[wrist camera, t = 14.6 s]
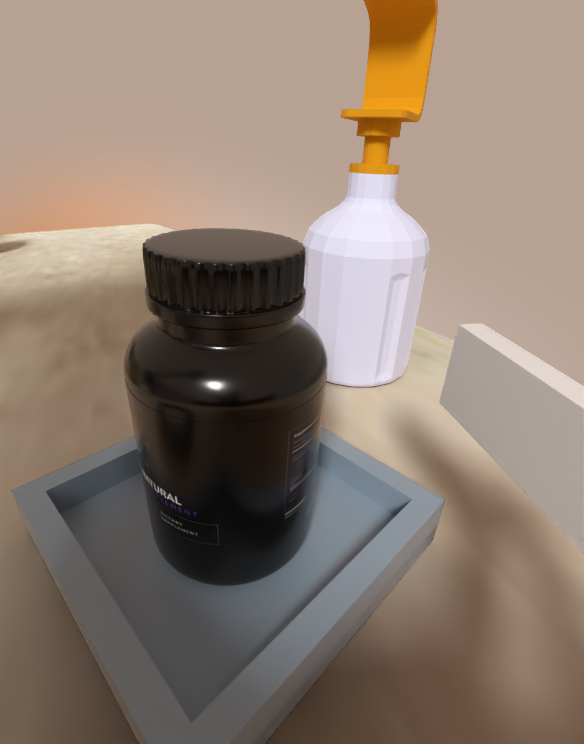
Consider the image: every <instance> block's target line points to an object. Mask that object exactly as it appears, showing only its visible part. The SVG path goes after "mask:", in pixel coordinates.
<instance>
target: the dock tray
mask: <svg viewBox="0 0 584 744" xmlns="http://www.w3.org/2000/svg"><path fill="white" fill-rule="evenodd" d="M12 493H13V495H14V498H15V500H16V503H17V505H18V508H19V510H20V512H21V515H22V517H23V520H24V522H25V525H26V527H27V530H28V532H29V534H30V536H31V538H32V540H33V541H34V543H35V545H36V547H37V549H38V551H39V553H40V555H41V557H42V559H43V561H44V563H45V564H46V566H47V568H48V570H49V572H50V574H51V576H52V578H53V580H54V582H55V584H56V585H57V587H58V589H59V591H60V593H61V595H62V597H63V599H64V601H65V603H66V605H67V607H68V608H69V610H70V612H71V614H72V616H73V618H74V620H75V622H76V624H77V626H78V628H79V629H80V631H81V633H82V635H83V637H84V639H85V641H86V643H87V645H88V647H89V649H90V651H91V652H92V654H93V656H94V658H95V660H96V662H97V664H98V666H99V668H100V670H101V672H102V673H103V675H104V677H105V679H106V681H107V683H108V685H109V687H110V689H111V691H112V693H113V695H114V696H115V698H116V700H117V702H118V704H119V706H120V708H121V710H122V712H123V714H124V716H125V718H126V719H127V721H128V723H129V725H130V727H131V729H132V731H133V733H134V735H135V737H136V739H137V740H138V742H139V744H265V743H266V741H267V740H268V739H269V738H270V737H271V735H272V734H273V733H274V732H275V731H276V729H277V728H278V727H279V726H280V724H281V723H282V722H283V721H284V720H285V718H286V717H287V716H288V715H289V714H290V712H291V711H292V710H293V709H294V707H295V706H296V705H297V704H298V703H299V701H300V700H301V699H302V698H303V697H304V695H305V694H306V693H307V692H308V691H309V689H310V688H311V687H312V686H313V684H314V683H315V682H316V681H317V680H318V678H319V677H320V676H321V675H322V674H323V672H324V671H325V670H326V669H327V667H328V666H329V665H330V664H331V663H332V661H333V660H334V659H335V658H336V657H337V655H338V654H339V653H340V652H341V650H342V649H343V648H344V647H345V646H346V644H347V643H348V642H349V641H350V640H351V638H352V637H353V636H354V635H355V634H356V632H357V631H358V630H359V629H360V627H361V626H362V625H363V624H364V623H365V621H366V620H367V619H368V618H369V617H370V615H371V614H372V613H373V612H374V610H375V609H376V608H377V607H378V606H379V604H380V603H381V602H382V601H383V600H384V598H385V597H386V596H387V595H388V593H389V592H390V591H391V590H392V589H393V587H394V586H395V585H396V584H397V583H398V581H399V580H400V579H401V578H402V577H403V575H404V574H405V573H406V572H407V570H408V569H409V568H410V567H411V566H412V564H413V563H414V562H415V561H416V560H417V558H418V557H419V556H420V555H421V553H422V552H423V551H424V550H425V549H426V547H427V546H428V545H429V544H430V543H431V541H432V540H433V538H434V535H435V531H436V528H437V525H438V522H439V518H440V515H441V512H442V508H443V505H444V502H445V500H444V499H442V498H441V497H439V496H437V495H436V494H434V493H432V492H431V491H429V490H427V489H425V488H424V487H422V486H420V485H419V484H417V483H415V482H414V481H412V480H410V479H408V478H407V477H405V476H403V475H402V474H400V473H398V472H396V471H395V470H393V469H391V468H390V467H388V466H386V465H385V464H383V463H381V462H379V461H378V460H376V459H374V458H373V457H371V456H369V455H368V454H366V453H364V452H362V451H361V450H359V449H357V448H356V447H354V446H352V445H351V444H349V443H347V442H345V441H344V440H342V439H340V438H339V437H337V436H335V435H334V434H332V433H330V432H328V431H327V430H325V429H323V428H322V427H321V436H320V445H319V454H318V464H317V473H316V482H315V491H314V500H313V508H312V516H311V522H310V527H309V531H308V534H307V536H306V539H305V541H304V543H303V545H302V546H301V548H300V549H299V551H298V552H297V553H296V555H295V556H294V557H293V558H292V559H291V560H290V561H289V562H288V563H287V564H286V565H285V566H283V567H282V568H281V569H279V570H278V571H276V572H275V573H273V574H271V575H269V576H267V577H265V578H263V579H260V580H258V581H255V582H252V583H247V584H243V585H236V586H216V585H209V584H205V583H201V582H198V581H195V580H192V579H190V578H188V577H186V576H184V575H182V574H181V573H179V572H178V571H176V570H175V569H174V568H173V567H172V566H171V565H170V564H169V563H168V562H167V561H166V560H165V559H164V557H163V556H162V555H161V553H160V551H159V549H158V547H157V545H156V542H155V539H154V536H153V531H152V527H151V521H150V517H149V512H148V506H147V500H146V495H145V489H144V484H143V478H142V472H141V467H140V461H139V455H138V450H137V444H136V438H135V436H133V437H131V438H129V439H127V440H124V441H122V442H120V443H118V444H115V445H113V446H111V447H108V448H106V449H104V450H102V451H99V452H97V453H95V454H93V455H90V456H88V457H86V458H84V459H81V460H79V461H77V462H74V463H72V464H70V465H68V466H65V467H63V468H61V469H59V470H56V471H54V472H52V473H50V474H47V475H45V476H43V477H41V478H38V479H36V480H34V481H31V482H29V483H27V484H25V485H22V486H20V487H18V488H16V489H13V490H12Z"/></svg>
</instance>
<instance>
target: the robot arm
mask: <svg viewBox="0 0 584 744" xmlns="http://www.w3.org/2000/svg"><path fill="white" fill-rule="evenodd" d="M439 403H440V404H441V405H442V406H443V407H444V408H445V409H446V410H447V411H448V412H449V413H450V414H451V415H452V416H453V417H454V418H455V419H456V420H457V421H458V422H459V424H460V425H461V426H462V427H463V428H464V429H465V430H466V431H467V432H468V433H469V434H470V435H471V436H472V437H473V438H474V439H475V440H476V441H477V442H478V443H479V445H480V446H481V447H482V448H483V449H484V450H485V451H486V452H487V453H488V454H489V455H490V456H491V457H492V458H493V459H494V460H495V461H496V462H497V463H498V464H499V466H500V467H501V468H502V469H503V470H504V471H505V472H506V473H507V474H508V475H509V476H510V477H511V478H512V479H513V480H514V481H515V482H516V483H517V484H518V485H519V487H520V488H521V489H522V490H523V491H524V492H525V493H526V494H527V495H528V496H529V497H530V498H531V499H532V500H533V501H534V502H535V503H536V504H537V505H538V506H539V508H540V509H541V510H542V511H543V512H544V513H545V514H546V515H547V516H548V517H549V518H550V519H551V520H552V521H553V522H554V523H555V524H556V525H557V526H558V527H559V529H560V530H561V531H562V532H563V533H564V534H565V535H566V536H567V537H568V538H569V539H570V540H571V541H572V542H573V543H574V544H575V545H576V546H577V547H578V548H579V550H580V551H581V552H582V553H583V554H584V386H582V385H581V384H579V383H578V382H576V381H574V380H573V379H571V378H569V377H568V376H566V375H565V374H563V373H561V372H560V371H558V370H556V369H555V368H553V367H552V366H550V365H548V364H547V363H545V362H543V361H542V360H540V359H539V358H537V357H535V356H534V355H532V354H530V353H529V352H527V351H525V350H524V349H522V348H521V347H519V346H517V345H516V344H514V343H513V342H511V341H509V340H508V339H506V338H504V337H502V336H501V335H500V334H498V333H496V332H495V331H493V330H492V329H490V328H488V327H487V326H485V325H483V324H482V323H480V324H459V326H458V330H457V334H456V338H455V342H454V346H453V350H452V354H451V358H450V362H449V366H448V370H447V374H446V378H445V382H444V386H443V390H442V394H441V398H440V402H439Z"/></svg>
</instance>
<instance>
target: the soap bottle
mask: <svg viewBox="0 0 584 744" xmlns="http://www.w3.org/2000/svg"><path fill="white" fill-rule="evenodd" d="M364 2H365V4H366V7H367V10H368V14H369V19H370V41H369V42H370V43H369V52H368V62H367V72H366V82H365V92H364V101H363V106H362V109H344V110H342V112H341V113H342V114H341V117H342V118H346V119H350V120H354V121H358V129H357V136H365V143H364V153H363V161H362V163H350V169H349V180H348V192H347V197H346V198H345V200H344V201H343V202H342V203H341V204H339V205H338V206H337V207H335V208H334V209H332V210H330V211H328V212H326V213H324V214H323V215H322V216H321V217H320V218H318V219H317V220H316V221H315V222H314V223H313V224H312V225H311V226H310V227H309V230H308V232H307V235H306V237H305V240H304V242H303V246H304V247H305V249H306V262H305V277H304V287H305V289H306V297H305V306H304V308H303V310H302V311H301V312H300V317H301V318H303V319H304V320H305V321H307V322H308V323H309V324H310V325H311V326H312V327H313V328H314V329H315V330H316V332H317V333H318V335H319V336H320V338H321V340H322V342H323V344H324V346H325V349H326V352H327V358H328V368H327V381H328V382H331V383H335V384H341V385H346V386H352V387H373V386H378V385H382V384H387V383H391V382H392V381H394V380H396V379H398V378H399V377H401V376H402V375H403V373H404V371H405V369H406V368H407V366H408V361H409V355H410V350H411V345H412V340H413V335H414V330H415V325H416V320H417V314H418V309H419V304H420V299H421V294H422V289H423V284H424V279H425V274H426V268H427V263H428V258H429V253H430V248H429V243H428V236H427V234H426V233H425V232H424V231H423V229H422V228H421V227H420V226H419V225H418V223H417V222H416V221H415V220H414V219H413V218H412V217H410V216H409V215H408V214H407V213H405V212H404V211H403V210H402V209H401V208H400V207H399V206H398V205H397V202H396V199H395V197H396V190H397V184H398V176H399V174H398V172H399V165H387V163H388V155H389V148H390V140H391V137H399V136H400V129H401V122H418V121H419V120H420V117H421V114H422V110H423V105H424V99H425V94H426V87H427V81H428V75H429V68H430V63H431V56H432V50H433V44H434V38H435V31H436V24H437V11H438V5H437V0H364Z"/></svg>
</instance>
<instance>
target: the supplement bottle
mask: <svg viewBox="0 0 584 744" xmlns="http://www.w3.org/2000/svg"><path fill="white" fill-rule="evenodd" d="M143 260H144V268H145V276H146V283H147V286H146V288H145V295H146V302H147V307H148V309H149V310H150V312H151V313H152V314H154V315H155V316H154V317H153V318H151V319H150V320H149V321H147V322H146V323H145V324H144V325H143V326H141V327H140V329H139V330H138V331H137V332H136V333H135V335H134V336H133V338H132V340H131V341H130V343H129V346H128V348H127V351H126V354H125V358H124V373H125V382H126V388H127V393H128V399H129V405H130V410H131V416H132V422H133V427H134V433H135V438H136V444H137V450H138V455H139V461H140V467H141V472H142V478H143V484H144V489H145V495H146V500H147V506H148V512H149V517H150V521H151V527H152V531H153V536H154V539H155V542H156V545H157V547H158V549H159V551H160V553H161V555H162V556H163V557H164V559H165V560H166V561H167V562H168V563H169V564H170V565H171V566H172V567H173V568H174V569H175V570H176V571H178V572H179V573H181V574H182V575H184V576H186V577H188V578H190V579H192V580H195V581H198V582H201V583H205V584H209V585H216V586H236V585H243V584H247V583H252V582H255V581H258V580H260V579H263V578H265V577H267V576H269V575H271V574H273V573H275V572H276V571H278V570H279V569H281V568H282V567H283V566H285V565H286V564H287V563H288V562H289V561H290V560H291V559H292V558H293V557H294V556H295V555H296V553H297V552H298V551H299V549H300V548H301V546H302V545H303V543H304V541H305V539H306V536H307V534H308V531H309V527H310V522H311V516H312V508H313V500H314V491H315V482H316V473H317V464H318V454H319V445H320V436H321V427H322V418H323V409H324V400H325V391H326V381H327V368H328V358H327V352H326V349H325V346H324V344H323V342H322V340H321V338H320V336H319V335H318V333H317V332H316V330H315V329H314V328H313V327H312V326H311V325H310V324H309V323H308V322H307V321H305V320H304V319H303V318H301V317H300V316H298V314H299V313H300V312H301V311H302V310H303V308H304V306H305V297H306V289H305V287H304V277H305V262H306V249H305V247H304V246H303V244H302V243H300V242H298V241H297V240H294V239H292V238H290V237H285V236H283V235H279V234H273V233H269V232H262V231H254V230H244V229H222V228H219V229H218V228H207V229H191V230H180V231H173V232H168V233H163V234H159V235H157V236H153V237H151V238H150V239H147V240H146V242H144V243H143Z"/></svg>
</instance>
